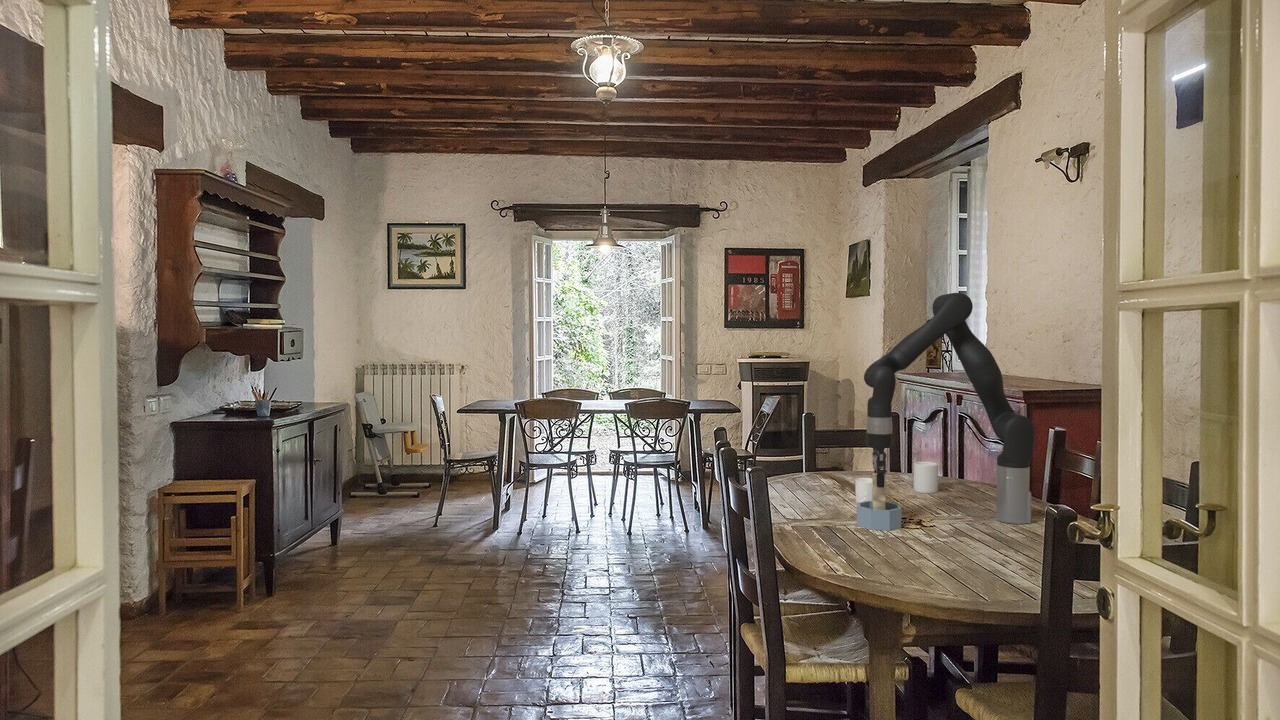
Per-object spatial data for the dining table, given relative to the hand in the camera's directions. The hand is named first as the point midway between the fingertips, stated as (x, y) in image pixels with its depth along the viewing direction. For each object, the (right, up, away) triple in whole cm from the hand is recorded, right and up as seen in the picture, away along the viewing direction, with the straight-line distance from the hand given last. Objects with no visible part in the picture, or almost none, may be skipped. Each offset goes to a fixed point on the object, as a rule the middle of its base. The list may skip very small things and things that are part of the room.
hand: (879, 484), depth 242 cm
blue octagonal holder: (0, -13, +1) cm, 13 cm away
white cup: (+2, -12, +20) cm, 23 cm away
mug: (+32, -10, +49) cm, 59 cm away
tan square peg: (0, -12, +1) cm, 12 cm away
